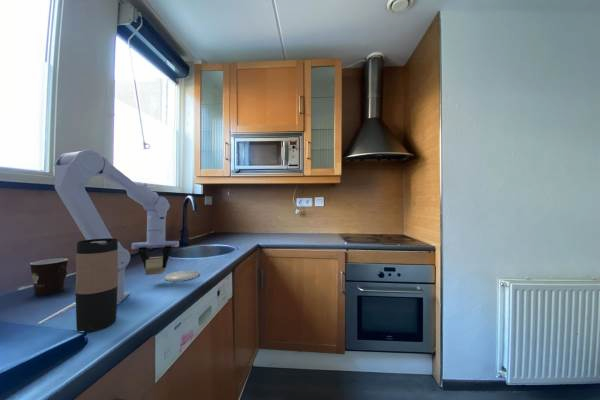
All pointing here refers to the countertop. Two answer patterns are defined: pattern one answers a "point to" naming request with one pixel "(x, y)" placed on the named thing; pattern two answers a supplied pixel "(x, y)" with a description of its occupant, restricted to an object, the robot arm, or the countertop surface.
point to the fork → (60, 311)
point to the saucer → (181, 275)
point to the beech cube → (154, 265)
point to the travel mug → (96, 284)
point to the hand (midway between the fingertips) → (155, 268)
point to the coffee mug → (48, 276)
